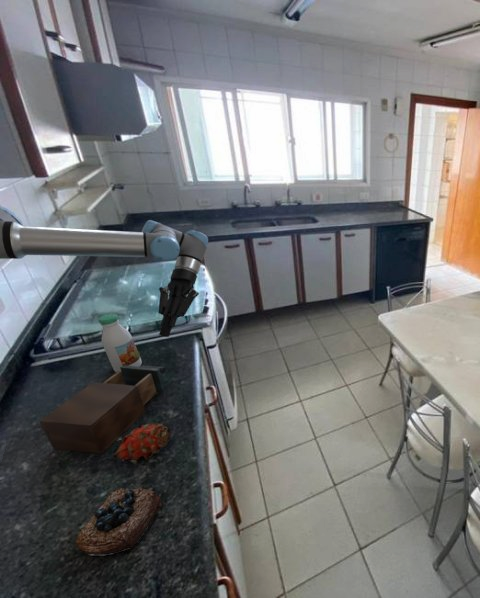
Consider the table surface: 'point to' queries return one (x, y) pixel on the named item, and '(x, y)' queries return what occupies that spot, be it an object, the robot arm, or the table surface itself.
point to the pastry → (119, 521)
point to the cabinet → (93, 417)
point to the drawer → (140, 379)
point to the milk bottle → (118, 343)
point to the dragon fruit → (143, 442)
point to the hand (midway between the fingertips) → (163, 335)
